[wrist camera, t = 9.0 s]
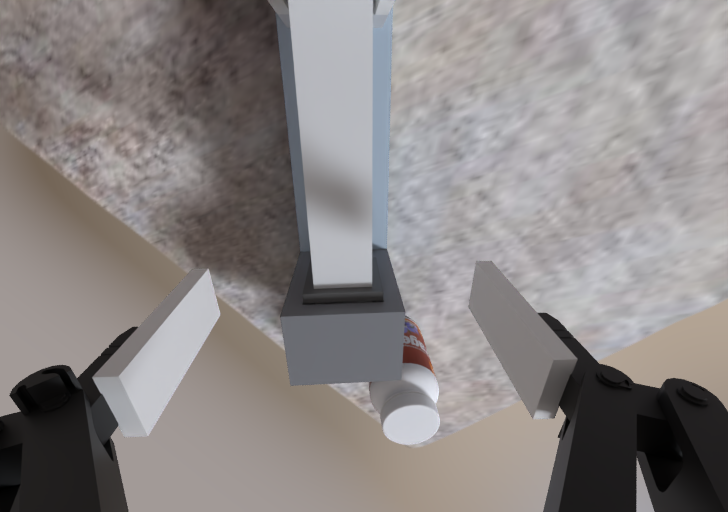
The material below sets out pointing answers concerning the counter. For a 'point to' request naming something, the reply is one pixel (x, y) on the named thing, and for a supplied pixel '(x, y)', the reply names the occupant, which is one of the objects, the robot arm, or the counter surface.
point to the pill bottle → (409, 394)
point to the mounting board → (379, 139)
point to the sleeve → (381, 10)
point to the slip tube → (336, 145)
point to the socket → (344, 333)
